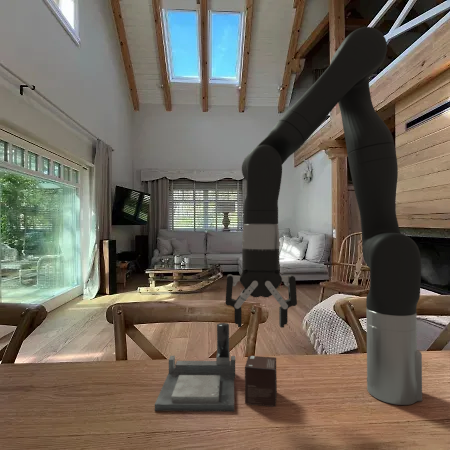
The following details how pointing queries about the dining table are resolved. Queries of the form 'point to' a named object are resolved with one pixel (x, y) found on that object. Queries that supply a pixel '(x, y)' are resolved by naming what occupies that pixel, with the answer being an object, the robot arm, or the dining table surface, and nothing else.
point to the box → (260, 381)
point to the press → (197, 387)
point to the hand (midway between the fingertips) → (260, 326)
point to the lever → (223, 344)
